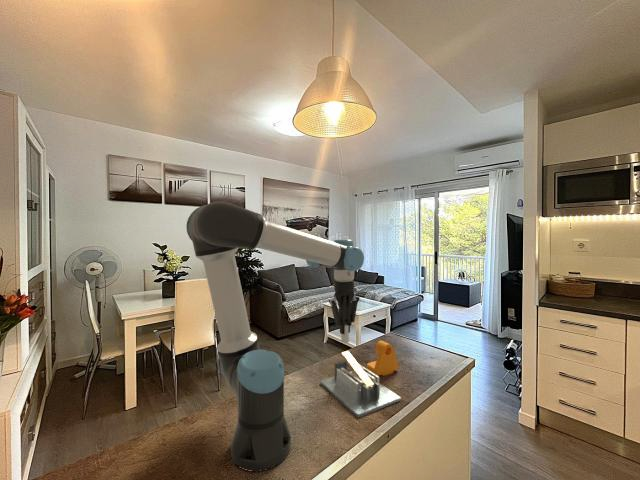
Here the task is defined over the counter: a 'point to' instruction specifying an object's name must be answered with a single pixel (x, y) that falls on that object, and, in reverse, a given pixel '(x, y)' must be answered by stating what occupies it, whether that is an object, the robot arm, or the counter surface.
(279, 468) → the counter surface
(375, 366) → the bracket
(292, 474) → the counter surface
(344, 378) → the heatsink
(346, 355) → the strap
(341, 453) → the counter surface
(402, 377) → the counter surface
